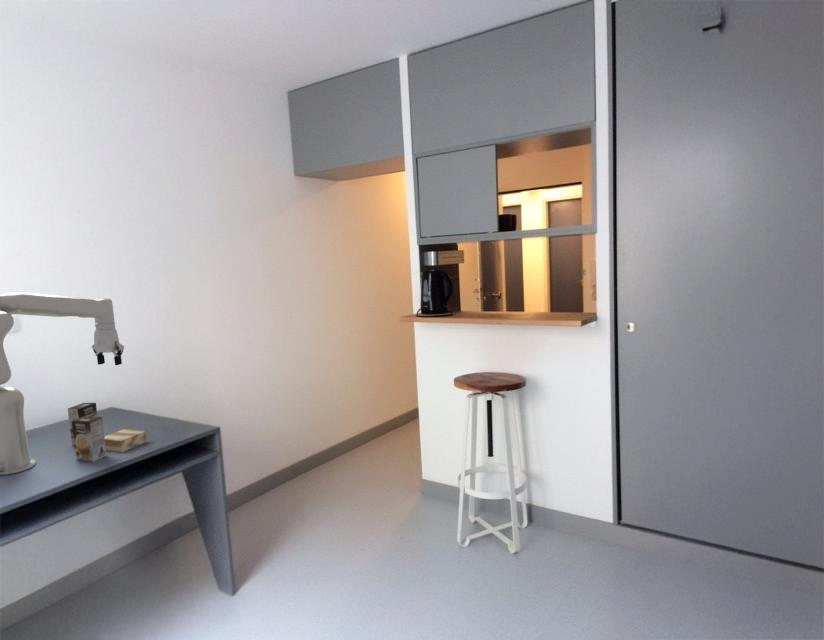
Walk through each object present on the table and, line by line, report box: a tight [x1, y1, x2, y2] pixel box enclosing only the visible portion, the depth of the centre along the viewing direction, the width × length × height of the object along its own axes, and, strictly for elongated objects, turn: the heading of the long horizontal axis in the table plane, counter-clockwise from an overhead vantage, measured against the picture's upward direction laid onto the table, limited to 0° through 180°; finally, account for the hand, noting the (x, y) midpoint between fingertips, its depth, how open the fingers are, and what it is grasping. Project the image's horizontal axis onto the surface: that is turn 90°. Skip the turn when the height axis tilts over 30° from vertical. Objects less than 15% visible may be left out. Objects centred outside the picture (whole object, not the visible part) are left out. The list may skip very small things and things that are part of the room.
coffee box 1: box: [67, 402, 99, 446], centre depth 227 cm, size 9×6×16 cm
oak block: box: [104, 428, 148, 453], centre depth 221 cm, size 12×12×5 cm
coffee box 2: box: [72, 416, 107, 462], centre depth 208 cm, size 9×6×16 cm
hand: (109, 364), depth 237 cm, fingers open, 9 cm apart
